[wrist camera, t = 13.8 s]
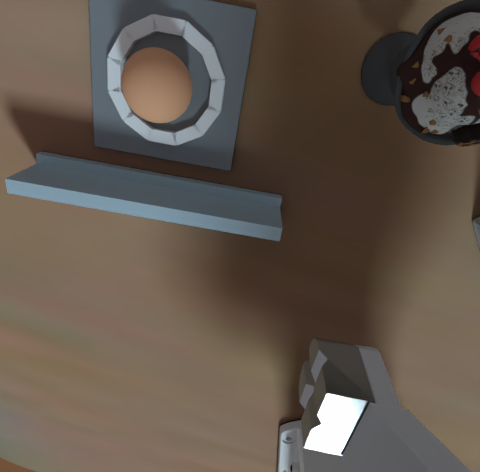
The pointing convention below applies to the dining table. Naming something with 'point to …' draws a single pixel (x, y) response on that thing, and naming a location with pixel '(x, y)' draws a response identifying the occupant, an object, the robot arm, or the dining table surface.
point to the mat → (196, 61)
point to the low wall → (150, 195)
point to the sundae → (432, 76)
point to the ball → (156, 85)
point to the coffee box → (477, 228)
